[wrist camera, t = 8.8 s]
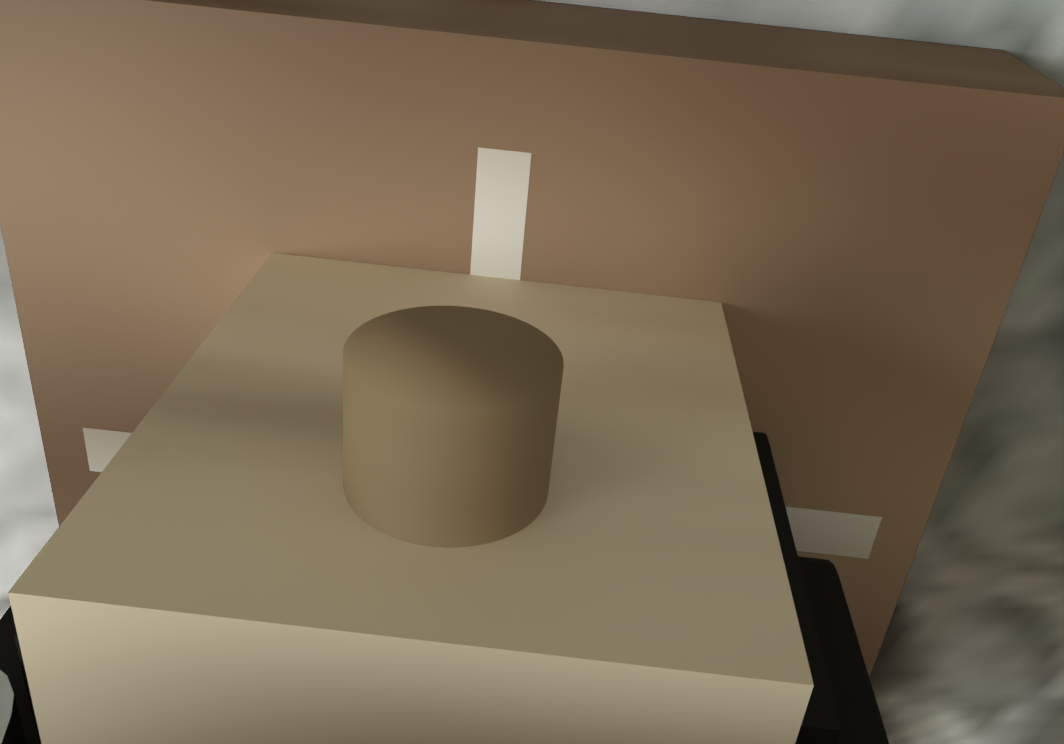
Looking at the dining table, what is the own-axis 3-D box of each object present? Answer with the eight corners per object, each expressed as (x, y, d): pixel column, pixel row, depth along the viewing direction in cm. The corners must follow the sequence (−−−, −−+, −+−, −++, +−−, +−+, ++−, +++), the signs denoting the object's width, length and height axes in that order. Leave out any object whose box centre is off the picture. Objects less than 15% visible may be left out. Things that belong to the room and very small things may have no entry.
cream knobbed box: (625, 774, 13) (634, 1241, 9) (291, 734, 13) (138, 1180, 9) (740, 206, 9) (858, 543, 5) (268, 155, 9) (-26, 442, 5)
